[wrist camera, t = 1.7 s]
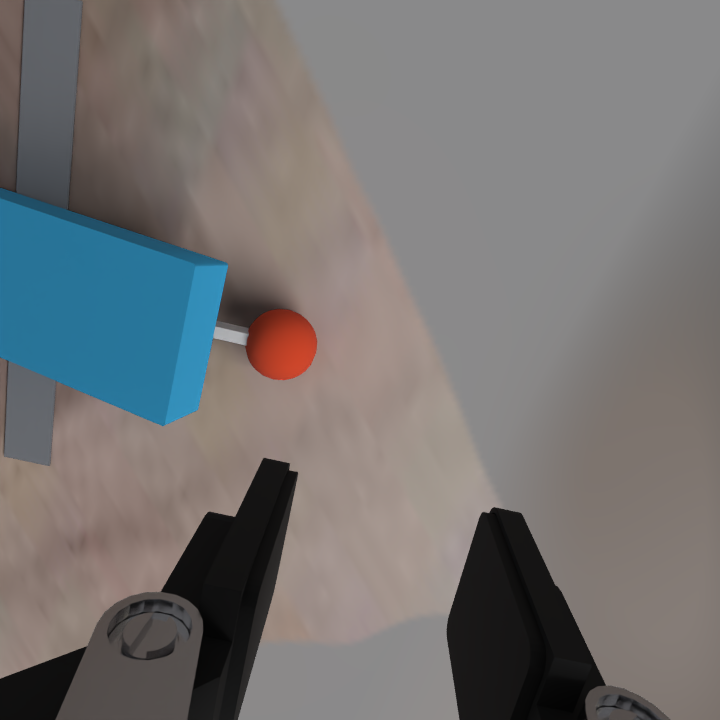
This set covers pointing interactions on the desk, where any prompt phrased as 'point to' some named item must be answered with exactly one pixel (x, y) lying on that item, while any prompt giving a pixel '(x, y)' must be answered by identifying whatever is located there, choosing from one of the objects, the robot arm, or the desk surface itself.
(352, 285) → the desk surface
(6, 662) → the desk surface
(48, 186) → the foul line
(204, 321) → the lever
